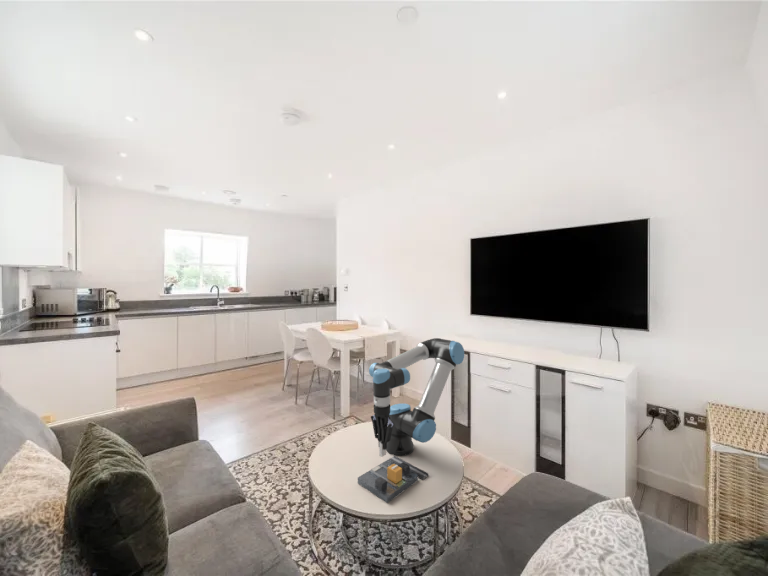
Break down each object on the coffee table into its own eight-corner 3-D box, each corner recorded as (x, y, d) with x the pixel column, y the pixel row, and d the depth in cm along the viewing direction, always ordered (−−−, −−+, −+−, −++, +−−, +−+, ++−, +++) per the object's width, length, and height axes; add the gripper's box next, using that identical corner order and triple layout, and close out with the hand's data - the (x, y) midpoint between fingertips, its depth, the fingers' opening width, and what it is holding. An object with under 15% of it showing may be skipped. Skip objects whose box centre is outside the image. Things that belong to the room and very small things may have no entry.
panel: (388, 464, 155) (388, 453, 155) (417, 480, 142) (417, 468, 142) (357, 483, 140) (357, 470, 140) (387, 503, 128) (387, 489, 128)
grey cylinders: (394, 457, 161) (394, 455, 161) (429, 476, 146) (429, 473, 146) (388, 461, 157) (388, 458, 157) (423, 480, 142) (423, 477, 142)
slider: (393, 474, 142) (393, 462, 142) (401, 479, 138) (402, 466, 138) (387, 478, 139) (387, 466, 139) (395, 483, 135) (395, 470, 135)
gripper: (366, 402, 145) (366, 453, 146) (386, 411, 136) (387, 464, 137) (377, 397, 150) (378, 446, 152) (398, 405, 141) (399, 457, 143)
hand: (382, 455), depth 144 cm, fingers closed
